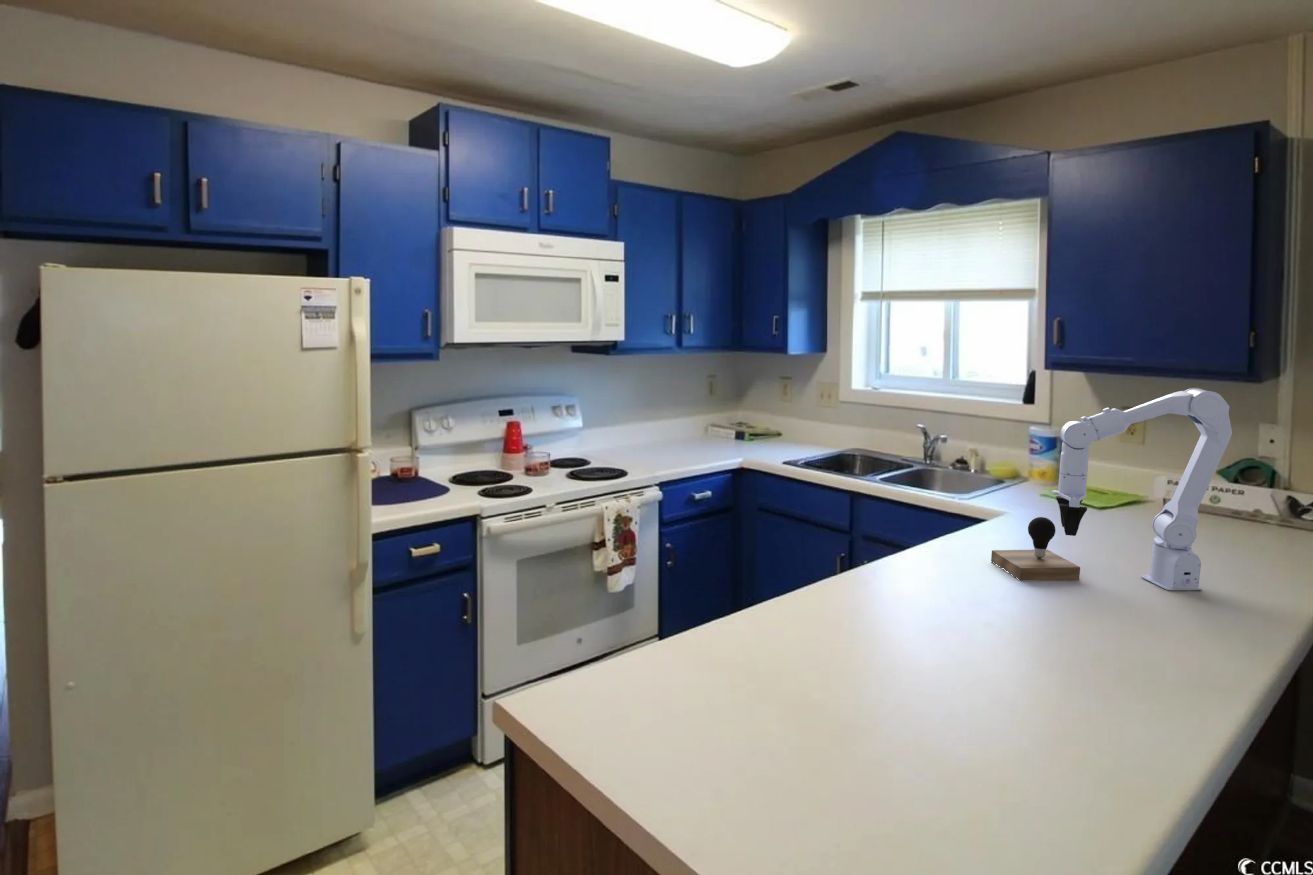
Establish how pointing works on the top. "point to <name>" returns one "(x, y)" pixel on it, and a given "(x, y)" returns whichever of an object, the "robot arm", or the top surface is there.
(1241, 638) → the top surface
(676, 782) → the top surface
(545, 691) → the top surface
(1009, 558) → the walnut plinth
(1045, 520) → the light bulb
